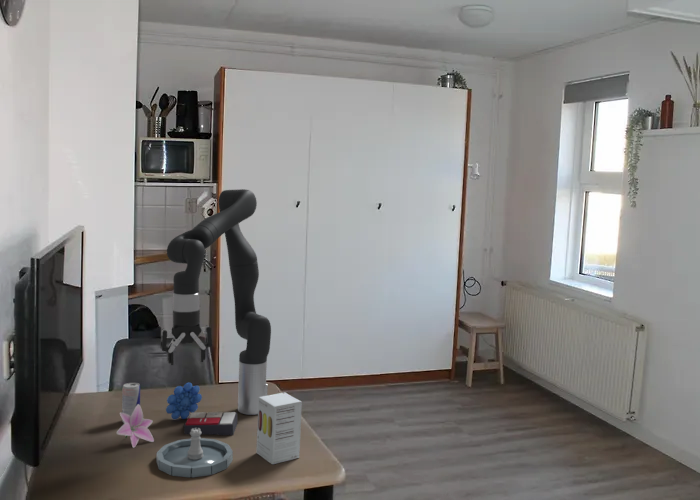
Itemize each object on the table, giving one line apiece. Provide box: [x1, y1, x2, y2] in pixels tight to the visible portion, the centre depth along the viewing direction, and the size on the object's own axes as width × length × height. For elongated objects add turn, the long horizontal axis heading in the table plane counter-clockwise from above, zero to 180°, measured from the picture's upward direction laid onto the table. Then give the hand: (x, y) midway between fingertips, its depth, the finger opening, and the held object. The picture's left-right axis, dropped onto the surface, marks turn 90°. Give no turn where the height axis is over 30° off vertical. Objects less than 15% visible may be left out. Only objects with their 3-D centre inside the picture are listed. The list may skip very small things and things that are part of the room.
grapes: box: [165, 382, 203, 420], centre depth 216 cm, size 12×7×12 cm, turn 120°
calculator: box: [183, 411, 239, 436], centre depth 210 cm, size 11×4×15 cm
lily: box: [116, 404, 155, 448], centre depth 196 cm, size 12×12×10 cm
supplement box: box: [255, 391, 303, 465], centre depth 191 cm, size 10×9×17 cm
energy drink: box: [121, 382, 141, 425], centre depth 211 cm, size 5×5×12 cm
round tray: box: [156, 437, 234, 478], centre depth 185 cm, size 20×20×2 cm
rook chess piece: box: [187, 428, 203, 460], centre depth 185 cm, size 4×4×8 cm
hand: (186, 363), depth 193 cm, fingers open, 8 cm apart
